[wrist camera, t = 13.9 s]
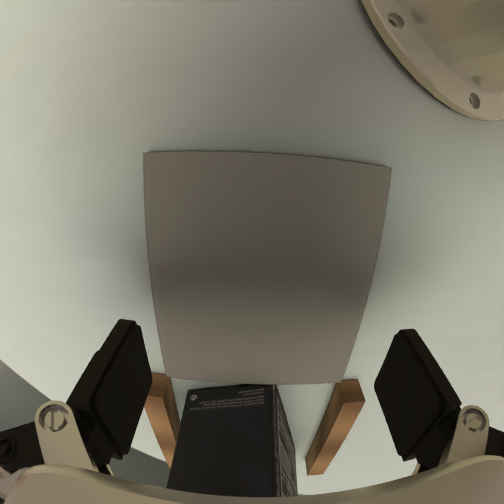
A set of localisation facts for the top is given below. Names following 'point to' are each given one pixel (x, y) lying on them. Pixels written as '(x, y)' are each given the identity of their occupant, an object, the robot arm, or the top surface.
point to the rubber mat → (260, 262)
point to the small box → (234, 444)
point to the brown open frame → (321, 451)
